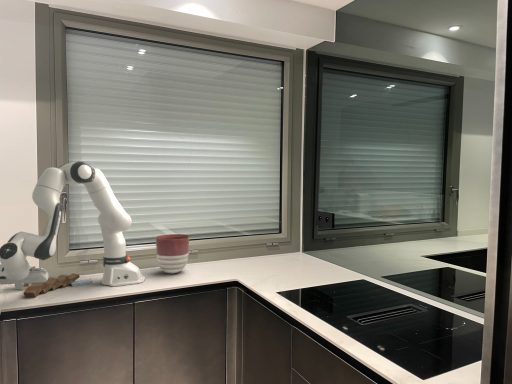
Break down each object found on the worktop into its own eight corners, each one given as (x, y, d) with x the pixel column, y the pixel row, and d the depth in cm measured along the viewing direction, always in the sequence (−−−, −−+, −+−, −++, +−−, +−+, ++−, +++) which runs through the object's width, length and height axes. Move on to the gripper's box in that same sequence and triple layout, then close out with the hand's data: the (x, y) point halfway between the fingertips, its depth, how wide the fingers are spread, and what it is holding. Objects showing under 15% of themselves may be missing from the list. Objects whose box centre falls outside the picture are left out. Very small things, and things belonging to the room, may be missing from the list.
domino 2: (43, 290, 181) (58, 277, 190) (35, 289, 183) (50, 277, 191) (44, 293, 182) (59, 281, 191) (36, 292, 183) (51, 280, 192)
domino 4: (62, 284, 191) (78, 274, 199) (56, 283, 193) (72, 273, 202) (63, 287, 192) (80, 277, 200) (57, 286, 194) (73, 276, 202)
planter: (186, 267, 234) (186, 233, 233) (192, 275, 216) (192, 238, 215) (154, 269, 227) (154, 235, 226) (157, 278, 209) (157, 240, 208)
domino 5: (72, 284, 193) (92, 280, 199) (70, 281, 197) (90, 278, 203) (72, 287, 193) (92, 284, 199) (70, 285, 198) (90, 282, 203)
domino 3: (52, 287, 186) (68, 275, 195) (45, 285, 188) (61, 274, 197) (53, 290, 187) (69, 278, 195) (46, 289, 189) (62, 277, 197)
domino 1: (33, 292, 175) (45, 279, 184) (23, 292, 175) (34, 279, 184) (35, 297, 176) (46, 284, 185) (24, 297, 176) (36, 284, 185)
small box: (23, 290, 187) (23, 269, 186) (14, 289, 188) (13, 269, 188) (36, 285, 195) (35, 265, 194) (27, 285, 196) (26, 265, 195)
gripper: (46, 262, 169) (52, 277, 179) (-6, 264, 164) (4, 280, 174) (43, 274, 165) (50, 289, 175) (-10, 277, 160) (0, 292, 170)
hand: (27, 285), depth 175 cm, fingers closed
